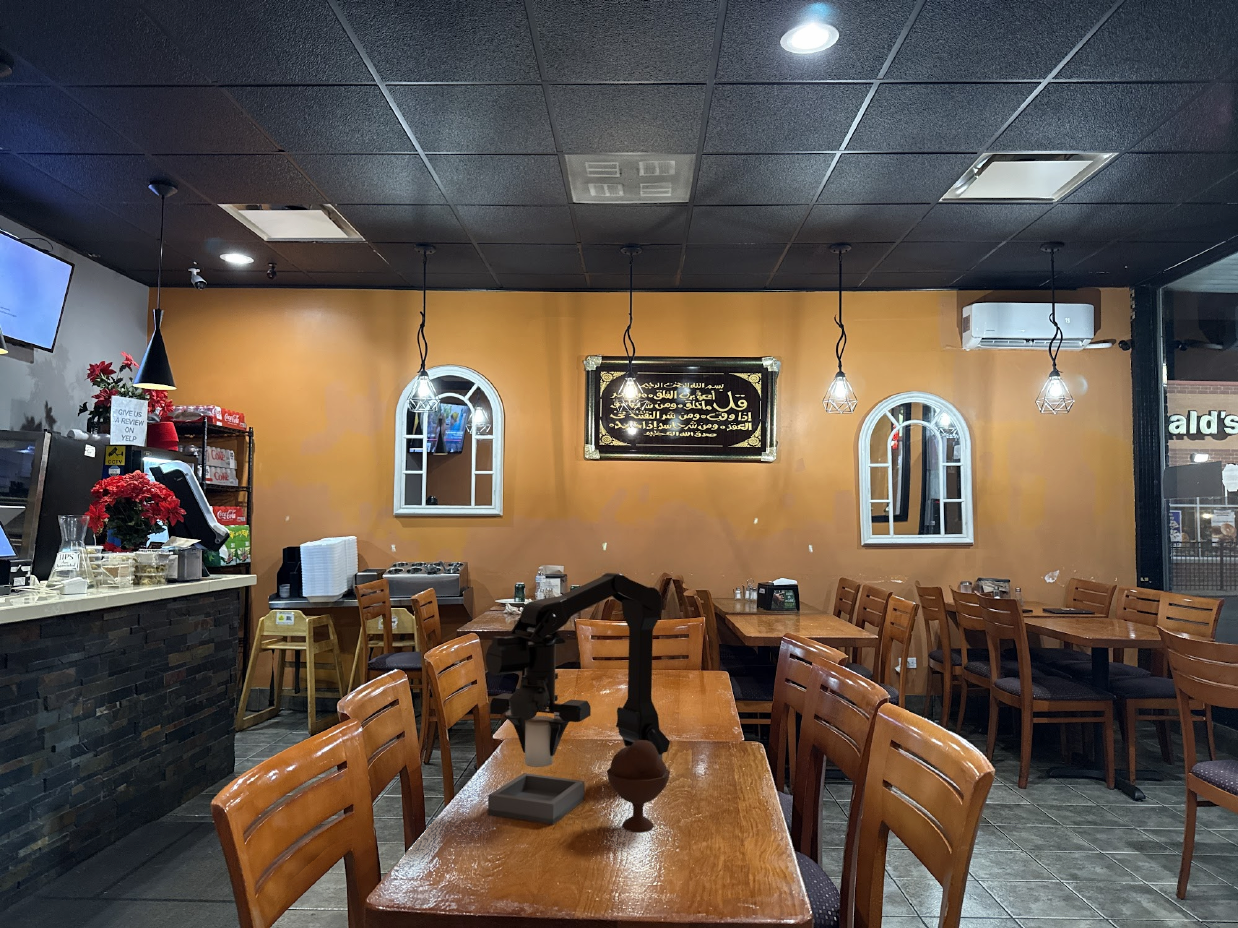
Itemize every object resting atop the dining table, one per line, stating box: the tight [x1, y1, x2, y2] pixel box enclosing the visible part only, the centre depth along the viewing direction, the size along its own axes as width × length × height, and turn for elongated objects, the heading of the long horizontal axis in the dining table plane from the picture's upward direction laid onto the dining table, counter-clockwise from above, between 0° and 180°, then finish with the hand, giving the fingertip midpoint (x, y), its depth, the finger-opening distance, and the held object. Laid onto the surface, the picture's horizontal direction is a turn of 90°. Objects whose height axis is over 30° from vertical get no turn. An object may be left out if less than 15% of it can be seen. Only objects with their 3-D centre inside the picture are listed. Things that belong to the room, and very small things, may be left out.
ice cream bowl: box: [606, 740, 671, 833], centre depth 142 cm, size 11×11×15 cm
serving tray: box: [487, 772, 586, 826], centre depth 151 cm, size 13×14×4 cm
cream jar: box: [524, 715, 554, 768], centre depth 152 cm, size 5×5×8 cm
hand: (538, 753), depth 152 cm, fingers closed on cream jar, 5 cm apart
